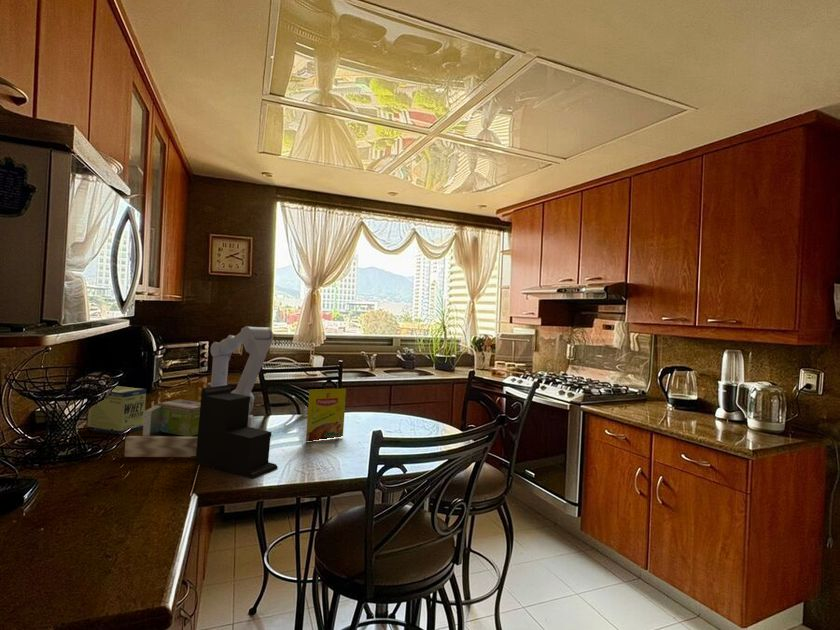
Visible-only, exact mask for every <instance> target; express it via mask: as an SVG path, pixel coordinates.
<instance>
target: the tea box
mask: <svg viewBox="0 0 840 630" xmlns="http://www.w3.org/2000/svg"><path fill="white" fill-rule="evenodd" d="M200 404H201V401H200V402H199V401H194V400H187V399H180V398H178V399H174V400H169V401H163V402H160V403H159V402H158V403H156V405H158V406H162V417H161V430H160V436H181V437H198V427H199V416H200Z"/></svg>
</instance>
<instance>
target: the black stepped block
mask: <svg viewBox="0 0 840 630" xmlns="http://www.w3.org/2000/svg"><path fill="white" fill-rule="evenodd" d="M231 392H232V385H231V384H227V385H223V386H215V387H211V386H209V387H208V386H207V387H202V388H201V395H200V402H201V404H200V416H199V427H198V438H197V450H196V457H195V464H197V465H198V464H199V465H203V466H204V467H205V466H206V467H208V468H209V467H210V468H212V469H215V470H218V471H219V470H220V471H223V472H227V473H230V474H234V475H237V476H240V477H245V478H249V479H256V478H258V477H260V476H263V475H266V474H268V473H270V472H273V471H276V470H278V465H277V463H273V462H269V460H270V459H269V458H270V457H269V456H270V447H271V446H270V445H271V437H272V431H268V430H264V429H259V428H254V427H253V428H251V427H247V426H248V415H250V412H249V401H250V398H251V397H250V396H245V395H239V394H234V393H231Z"/></svg>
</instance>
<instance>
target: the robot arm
mask: <svg viewBox="0 0 840 630" xmlns="http://www.w3.org/2000/svg"><path fill="white" fill-rule="evenodd" d="M273 341H274V335H273V330H272V328H271V327H269V326H265V327H264V326H259V327H258V326H248V325H246V326H244V327H242V328H240V332H239V333H237V334H236V335H232V334H229V335H228V336H227V337H226V338H224V339H222V340H221V341H219V342H217V341H214V342H213V343H212V344H211V346H210V354H211V356H212V366H211V367H212V368H211V380H210V382H208V383H207V386H210V387H215V386H223V385H228V383H227V382H228V374H229V373H228V372H229V361H231V356H232V354H233V352H234V351H237V350H238V349H239V348H240V347H241V345H242V344H243V347H244V348H243V349H244V350H245V352H246V353H248V354H249V356H248V359H247V360H246V364H245V366H244V369H243V371H242V372H241V373H242V374H241V376H240V378H239V381H238V383H237V385H236V388H235V389H233V390H231V393H234V394H239V395H245V396H250V397H251V398H250V401H249V413H250V412H252V410H253V408H254V401H255V399H256V398H255V396H254V394H253V392H252V390H253V388H254V386H255V383H256V381H257V378H258V376H259V374H260V371H261V370H262V367H263V364H264V362H265V360H266V358H267V354H268V352H269V350H270V347H271V346H272V344H273ZM247 427H251V428H254V415H253V414H249V415H248V426H247Z"/></svg>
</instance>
